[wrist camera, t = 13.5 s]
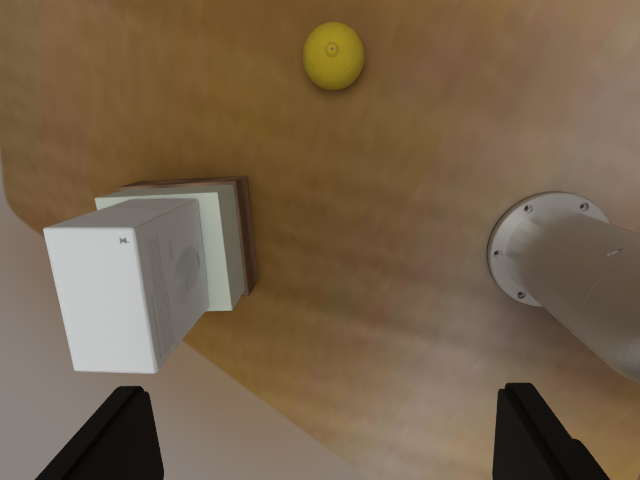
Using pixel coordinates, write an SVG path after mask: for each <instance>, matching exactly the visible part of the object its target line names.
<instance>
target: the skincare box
mask: <svg viewBox="0 0 640 480" xmlns="http://www.w3.org/2000/svg"><path fill="white" fill-rule="evenodd" d="M43 231H44V236H45V240H46V244H47V249H48V253H49V258H50V263H51V267H52V271H53V276H54V280H55V285H56V289H57V294H58V298H59V303H60V307H61V312H62V317H63V321H64V326H65V330H66V334H67V338H68V344H69V348H70V352H71V357H72V361H73V366H74V370H75V371H84V372H113V373H145V374H155V373H156V372H158V371H159V369H160V368H161V367H162V365H163V364H164V363H165V361H166V360H167V359H168V357H169V356H170V355H171V353H172V352H173V350H174V349H175V348H176V347H177V346H178V344H179V343H180V342H181V341H182V339H183V338H184V337H185V336H186V334H187V333H188V332H189V330H190V329H191V328H192V327H193V326H194V324H195V323H196V322H197V321H198V319H199V318H200V317H201V316H202V315H203V314H204V312H205V311H206V310H207V309H208V308H209V301H208V290H207V281H206V272H205V263H204V253H203V244H202V236H201V227H200V219H199V210H198V201H197V199H195V198H166V199H130V200H127V201H124V202H121V203H118V204H115V205H112V206H109V207H106V208H103V209H100V210H97V211H94V212H91V213H88V214H85V215H82V216H79V217H76V218H73V219H70V220H67V221H64V222H61V223H58V224H55V225H52V226H49V227H46V228H44V229H43Z"/></svg>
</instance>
